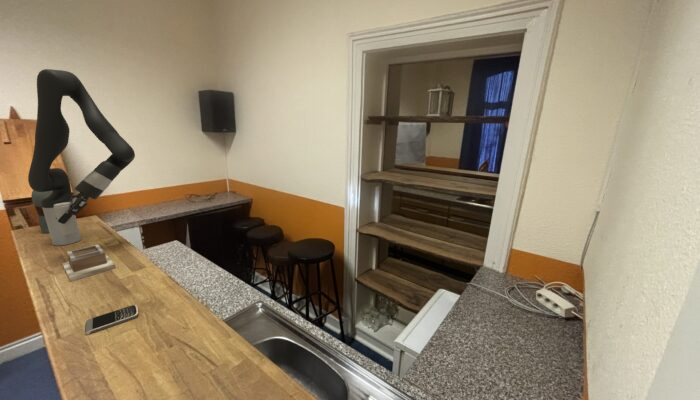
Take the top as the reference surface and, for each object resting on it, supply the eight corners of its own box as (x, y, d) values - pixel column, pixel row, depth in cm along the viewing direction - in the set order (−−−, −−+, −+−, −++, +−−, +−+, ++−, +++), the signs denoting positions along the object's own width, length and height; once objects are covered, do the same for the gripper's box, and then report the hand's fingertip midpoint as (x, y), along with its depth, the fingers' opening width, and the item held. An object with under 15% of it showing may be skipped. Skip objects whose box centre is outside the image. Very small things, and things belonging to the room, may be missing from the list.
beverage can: (70, 236, 105) (61, 205, 102) (57, 235, 105) (49, 205, 102) (82, 231, 110) (74, 202, 107) (70, 231, 110) (62, 202, 107)
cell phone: (139, 318, 76) (138, 313, 75) (84, 337, 69) (83, 333, 68) (137, 307, 80) (136, 303, 80) (85, 324, 73) (84, 320, 73)
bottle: (35, 234, 135) (17, 173, 127) (51, 228, 143) (35, 170, 136) (58, 233, 136) (42, 172, 129) (72, 226, 145) (57, 169, 138)
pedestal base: (63, 267, 103) (58, 250, 101) (105, 255, 112) (101, 240, 110) (70, 281, 93) (65, 263, 91) (115, 267, 102) (111, 251, 101)
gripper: (80, 177, 112) (45, 212, 106) (87, 181, 104) (49, 220, 98) (100, 188, 118) (67, 222, 112) (108, 192, 109) (74, 230, 103)
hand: (59, 221), depth 105 cm, fingers closed on beverage can, 4 cm apart
